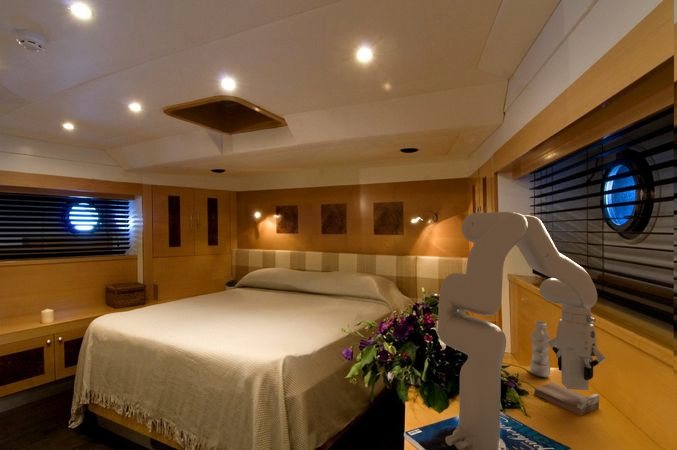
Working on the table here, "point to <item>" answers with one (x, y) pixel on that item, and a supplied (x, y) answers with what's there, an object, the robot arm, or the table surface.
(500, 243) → the robot arm
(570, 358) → the skincare box
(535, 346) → the plastic bottle
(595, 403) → the shelf board
